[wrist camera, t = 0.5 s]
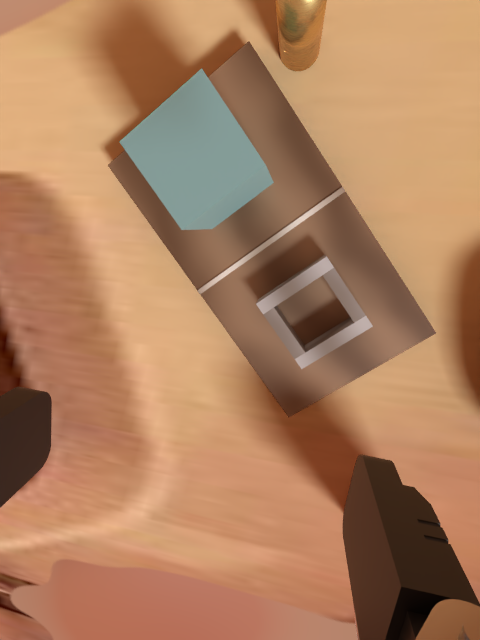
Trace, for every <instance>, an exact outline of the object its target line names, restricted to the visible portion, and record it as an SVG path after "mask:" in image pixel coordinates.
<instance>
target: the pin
mask: <svg viewBox="0 0 480 640" xmlns="http://www.w3.org/2000/svg"><path fill="white" fill-rule="evenodd" d="M326 1H327V0H275V2H276V15H277V27H278V40H279V52H280V58H281V60H282V62H283V64H284V65H285V66H286V67H287V68H288V69H290V70H293V71H303V70H306V69H307V68H309V67H310V66H311V65H313V63H314V62H315V61H316V59H317V57H318V54H319V49H320V42H321V36H322V29H323V22H324V15H325V8H326Z"/></svg>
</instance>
